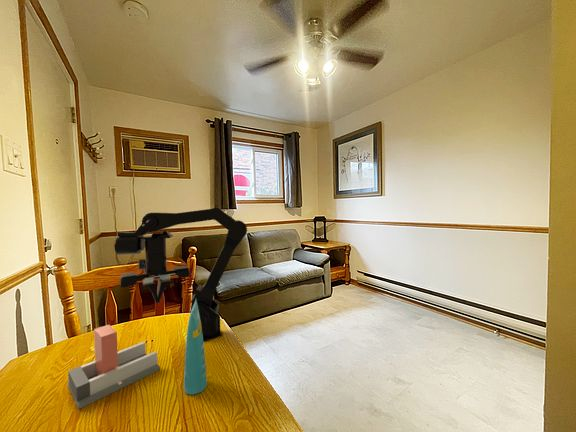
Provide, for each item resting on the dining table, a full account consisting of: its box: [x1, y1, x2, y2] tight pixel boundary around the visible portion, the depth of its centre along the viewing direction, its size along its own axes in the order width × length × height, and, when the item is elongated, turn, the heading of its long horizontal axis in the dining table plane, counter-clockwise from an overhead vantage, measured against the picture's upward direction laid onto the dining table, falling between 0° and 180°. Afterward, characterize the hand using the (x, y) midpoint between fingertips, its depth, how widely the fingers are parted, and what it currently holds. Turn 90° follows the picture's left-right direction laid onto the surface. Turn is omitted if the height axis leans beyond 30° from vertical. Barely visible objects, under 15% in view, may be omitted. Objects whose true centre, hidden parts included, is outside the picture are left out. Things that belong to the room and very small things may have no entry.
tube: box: [183, 300, 208, 396], centre depth 56 cm, size 7×5×19 cm, turn 20°
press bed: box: [67, 341, 160, 410], centre depth 60 cm, size 16×11×4 cm
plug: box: [93, 324, 118, 376], centre depth 59 cm, size 3×6×11 cm, turn 50°
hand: (157, 302), depth 77 cm, fingers closed
